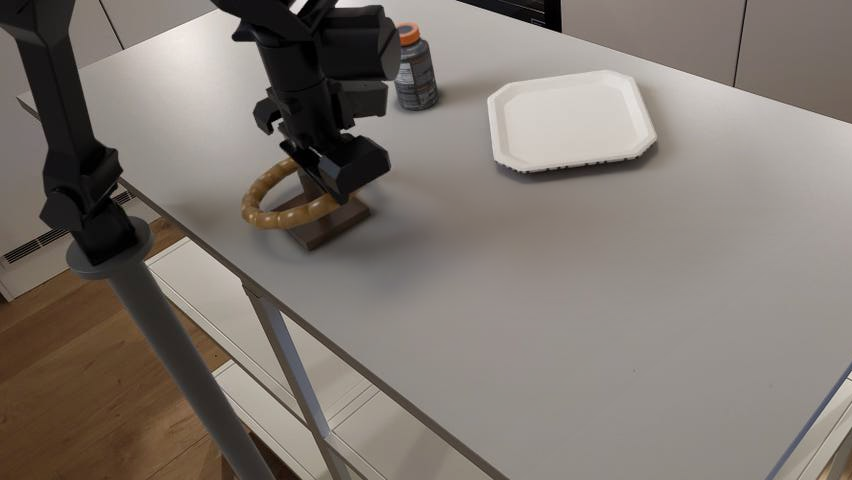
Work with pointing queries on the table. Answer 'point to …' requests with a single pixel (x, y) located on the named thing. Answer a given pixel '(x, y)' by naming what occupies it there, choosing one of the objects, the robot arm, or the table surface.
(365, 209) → the wooden peg stand
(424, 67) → the pill bottle
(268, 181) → the ring
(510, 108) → the plate
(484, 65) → the table surface
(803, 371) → the table surface
